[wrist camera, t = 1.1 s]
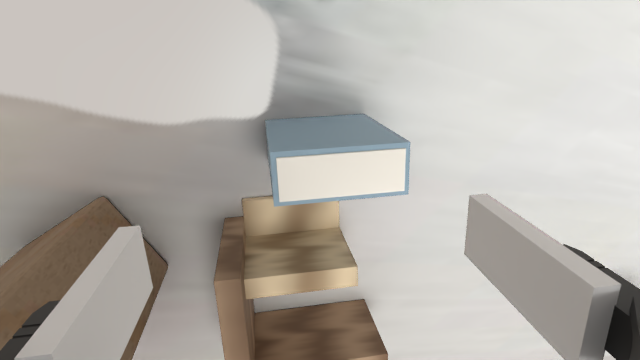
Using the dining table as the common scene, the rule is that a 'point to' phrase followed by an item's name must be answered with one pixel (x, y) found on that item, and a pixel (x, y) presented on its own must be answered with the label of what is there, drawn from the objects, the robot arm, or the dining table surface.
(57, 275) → the wooden block
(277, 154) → the book box
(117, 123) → the dining table surface
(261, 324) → the shelf corner
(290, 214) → the bookend
